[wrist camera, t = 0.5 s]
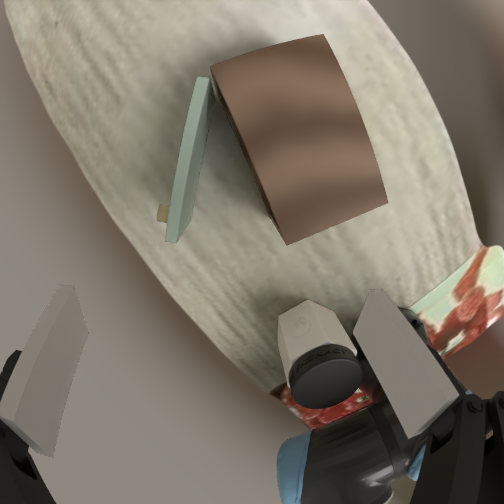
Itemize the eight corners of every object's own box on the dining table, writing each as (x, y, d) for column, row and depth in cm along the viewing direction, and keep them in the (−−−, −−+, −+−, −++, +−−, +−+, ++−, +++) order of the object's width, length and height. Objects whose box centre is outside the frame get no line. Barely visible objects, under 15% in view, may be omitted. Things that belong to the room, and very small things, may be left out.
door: (193, 96, 27) (178, 74, 19) (215, 99, 27) (209, 78, 19) (169, 216, 31) (147, 238, 23) (191, 220, 32) (176, 243, 23)
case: (346, 188, 32) (388, 202, 23) (271, 219, 33) (286, 245, 23) (297, 66, 27) (323, 33, 17) (216, 93, 28) (210, 66, 18)
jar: (321, 288, 36) (354, 342, 25) (342, 329, 39) (374, 384, 27) (262, 321, 37) (274, 384, 26) (290, 358, 40) (306, 419, 29)
